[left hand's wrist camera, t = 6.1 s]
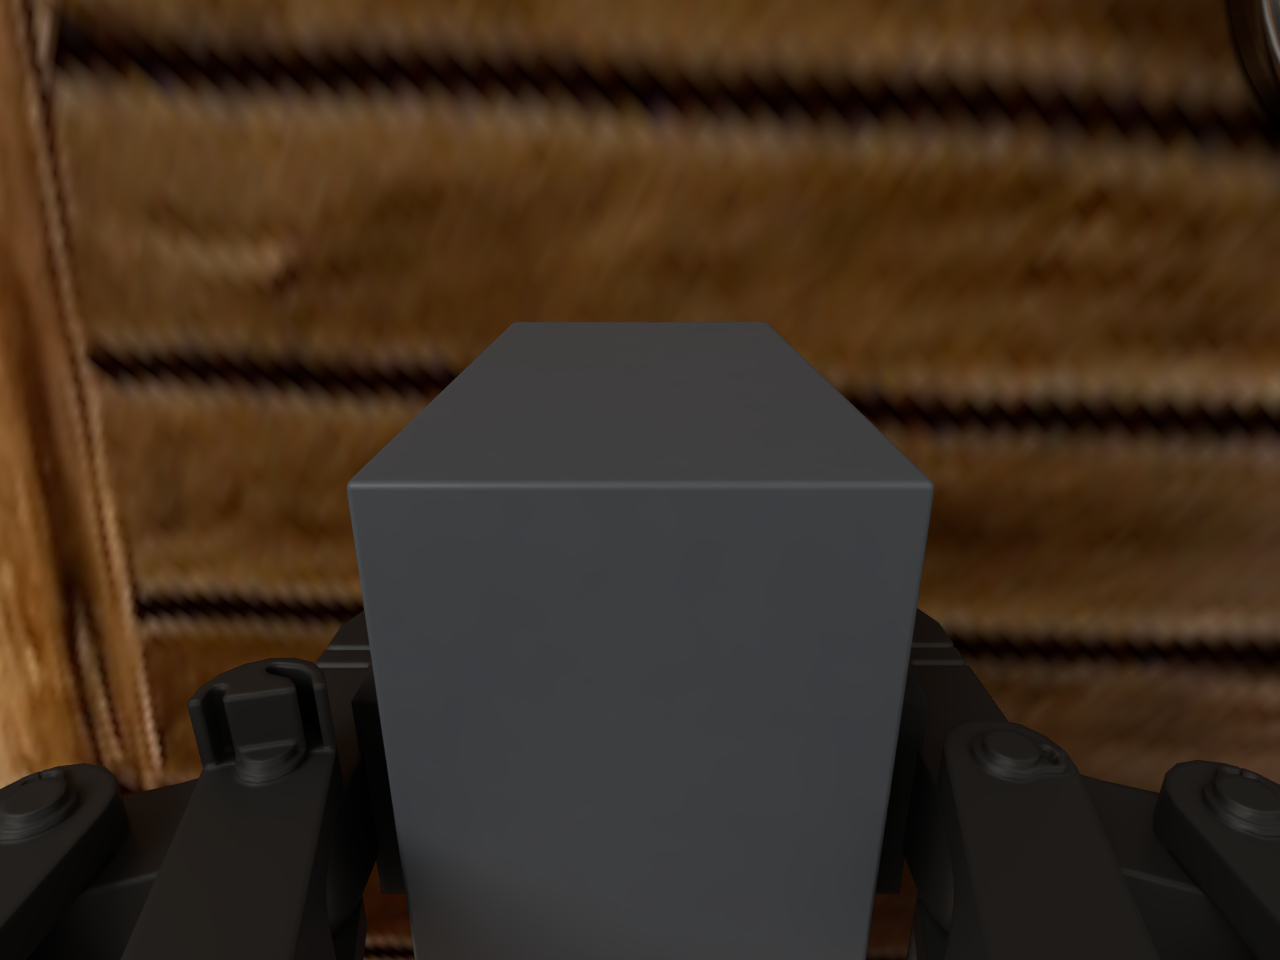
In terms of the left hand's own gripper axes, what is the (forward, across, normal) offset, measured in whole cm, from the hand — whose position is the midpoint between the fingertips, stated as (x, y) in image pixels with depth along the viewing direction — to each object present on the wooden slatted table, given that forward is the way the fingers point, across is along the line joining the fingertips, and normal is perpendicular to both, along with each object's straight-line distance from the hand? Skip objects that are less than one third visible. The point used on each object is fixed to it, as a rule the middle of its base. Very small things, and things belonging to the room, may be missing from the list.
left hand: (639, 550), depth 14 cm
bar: (+1, 0, -8) cm, 8 cm away
